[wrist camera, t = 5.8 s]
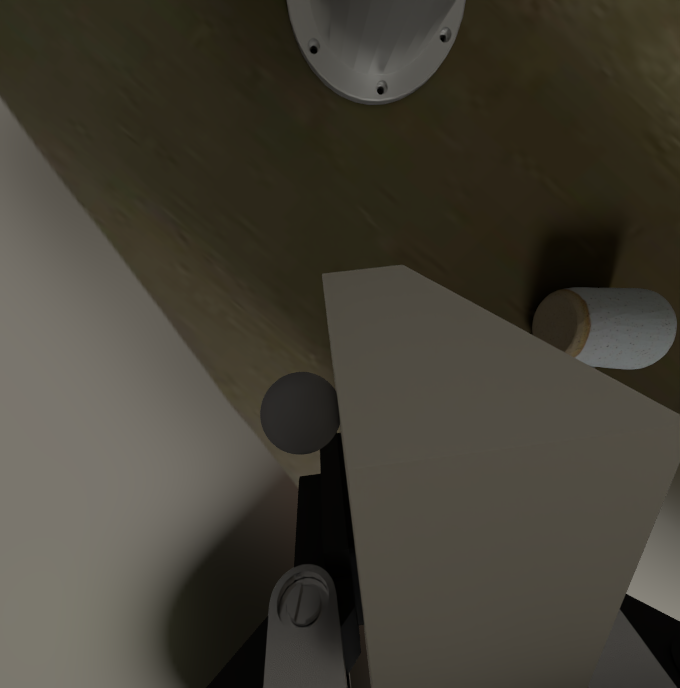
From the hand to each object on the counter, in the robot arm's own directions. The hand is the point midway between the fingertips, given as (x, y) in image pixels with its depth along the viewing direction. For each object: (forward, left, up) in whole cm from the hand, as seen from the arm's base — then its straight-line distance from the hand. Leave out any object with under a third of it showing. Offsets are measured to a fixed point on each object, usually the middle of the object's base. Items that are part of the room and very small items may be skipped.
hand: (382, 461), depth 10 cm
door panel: (0, 0, -2) cm, 2 cm away
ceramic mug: (+6, +24, -22) cm, 33 cm away
